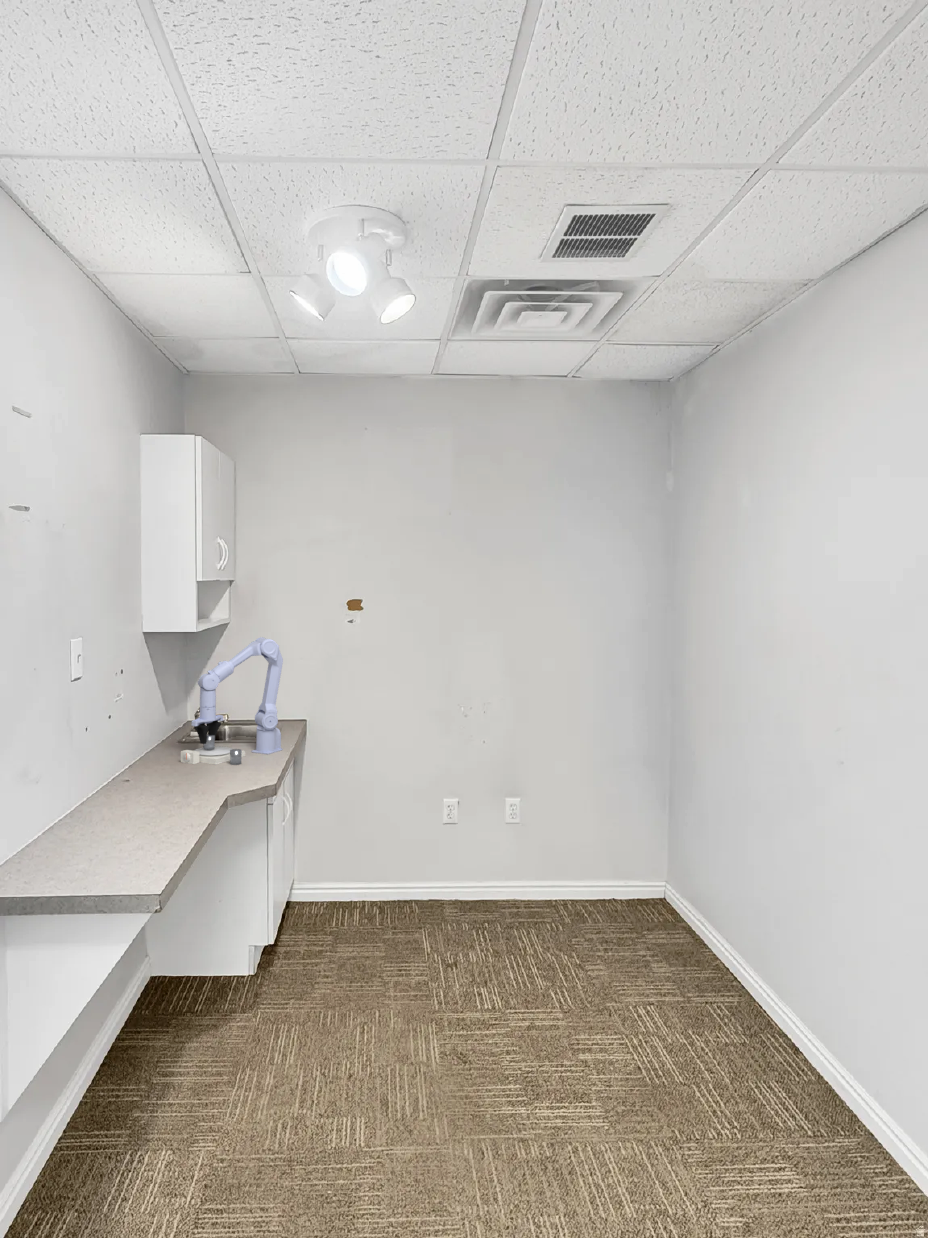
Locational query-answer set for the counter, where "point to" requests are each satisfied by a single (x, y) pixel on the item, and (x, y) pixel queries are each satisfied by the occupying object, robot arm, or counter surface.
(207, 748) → the cylinder
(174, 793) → the counter surface
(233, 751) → the cylinder
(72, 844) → the counter surface
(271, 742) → the robot arm
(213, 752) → the scale
